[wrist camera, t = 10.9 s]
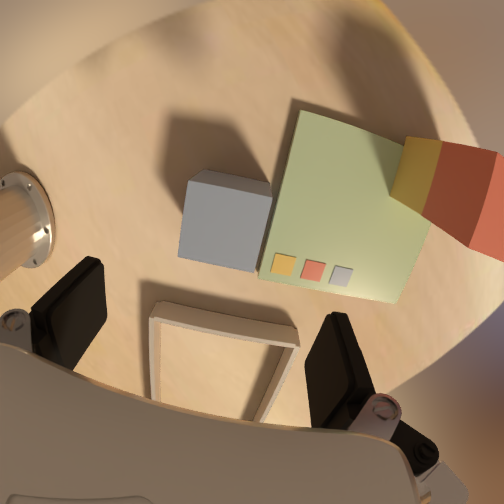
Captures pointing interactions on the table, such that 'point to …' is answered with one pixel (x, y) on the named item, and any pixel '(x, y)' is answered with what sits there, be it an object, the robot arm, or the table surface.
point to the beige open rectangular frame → (226, 328)
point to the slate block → (224, 219)
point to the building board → (341, 215)
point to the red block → (469, 197)
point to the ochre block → (416, 172)
